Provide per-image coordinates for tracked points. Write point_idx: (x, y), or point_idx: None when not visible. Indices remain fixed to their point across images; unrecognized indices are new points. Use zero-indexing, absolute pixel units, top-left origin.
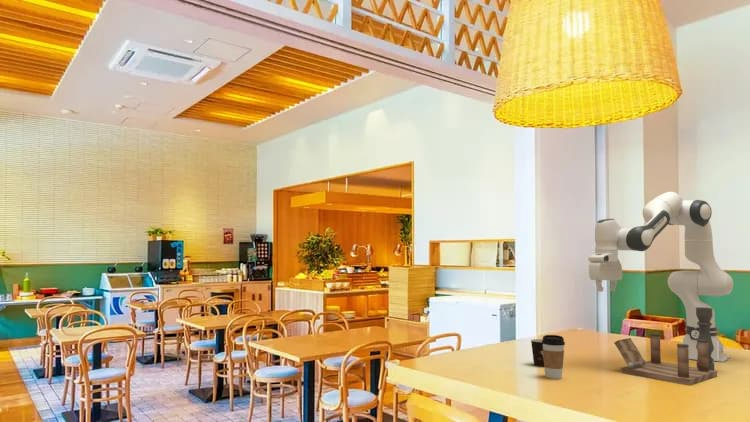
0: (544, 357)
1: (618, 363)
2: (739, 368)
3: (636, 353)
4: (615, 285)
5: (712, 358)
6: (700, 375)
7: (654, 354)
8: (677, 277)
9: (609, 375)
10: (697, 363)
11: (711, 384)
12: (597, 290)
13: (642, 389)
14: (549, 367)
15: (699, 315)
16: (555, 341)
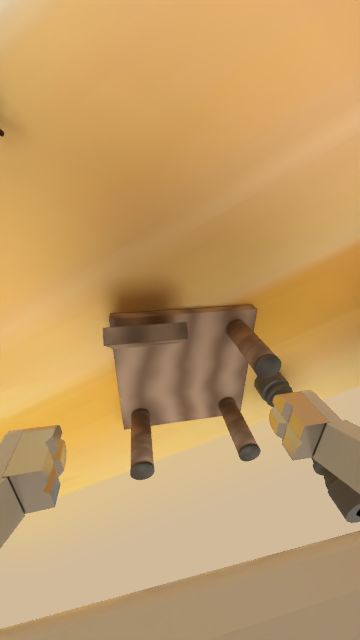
0: None
1: (216, 248)
2: (330, 392)
3: (162, 343)
4: (339, 472)
5: None
6: (176, 420)
7: (233, 341)
8: None
9: (57, 313)
10: (266, 383)
11: (164, 428)
12: (5, 435)
13: (11, 407)
14: None
15: (332, 486)
16: None
